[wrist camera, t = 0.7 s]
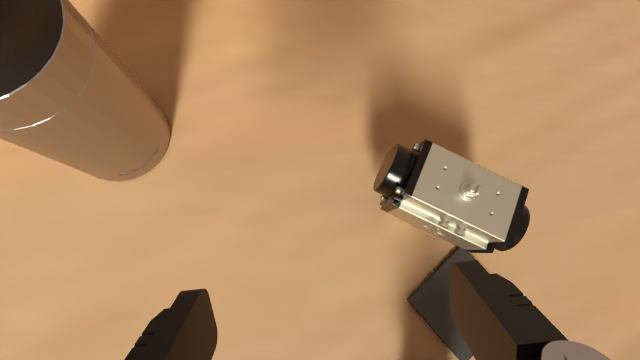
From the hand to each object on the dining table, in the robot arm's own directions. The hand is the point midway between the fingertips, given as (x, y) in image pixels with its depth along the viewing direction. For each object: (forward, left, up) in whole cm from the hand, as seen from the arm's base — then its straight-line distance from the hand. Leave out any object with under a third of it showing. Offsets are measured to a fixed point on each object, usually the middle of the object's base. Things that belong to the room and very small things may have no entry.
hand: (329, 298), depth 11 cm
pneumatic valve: (+4, +13, -23) cm, 26 cm away
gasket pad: (+14, +10, -23) cm, 28 cm away
